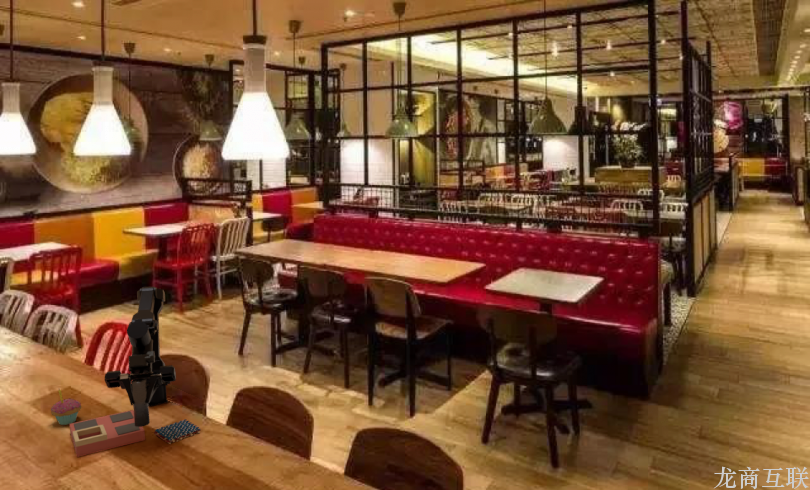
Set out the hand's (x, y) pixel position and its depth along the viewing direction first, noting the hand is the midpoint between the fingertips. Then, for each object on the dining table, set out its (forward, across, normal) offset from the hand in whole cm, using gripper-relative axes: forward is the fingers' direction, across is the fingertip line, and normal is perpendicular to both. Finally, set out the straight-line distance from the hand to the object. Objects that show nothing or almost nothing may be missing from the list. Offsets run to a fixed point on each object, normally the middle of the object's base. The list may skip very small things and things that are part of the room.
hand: (139, 403), depth 174 cm
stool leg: (+4, 0, +6) cm, 7 cm away
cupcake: (-9, -26, +29) cm, 40 cm away
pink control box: (+2, -12, +18) cm, 21 cm away
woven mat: (+5, +9, +15) cm, 18 cm away
